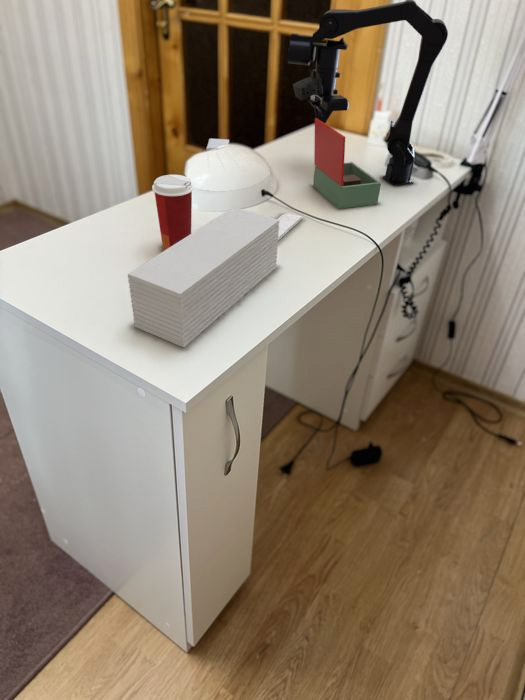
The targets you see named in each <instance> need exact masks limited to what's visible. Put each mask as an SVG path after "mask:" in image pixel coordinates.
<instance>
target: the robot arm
mask: <svg viewBox="0 0 525 700" xmlns="http://www.w3.org/2000/svg"><path fill="white" fill-rule="evenodd" d="M402 21H405V22H407V23H408V24H409V26H411V27H412V28H413V29H414V30H415V32H417V33H418V35H420V36H421V38H420V44H419V51H418V58H417V61H416V65H415V67H414V70H413V74H412V77H411V80H410V83H409V85H408V89H407V92H406V94H405V95H406V96H405V98H404V101H403V104H402V107H401V111H400V114H399V116H398V118H397V119H396V121H394V120H390V124H389V129H388V131H387V133H386V135H385V142H386V143H387V145H386V148H387V152H388V153H389V155H391V156H392V157H389V161H388V163H387V165H386V169H385V175H382V179H384V180H386V181H387V182H389V183H390V184H391V185H393V186H402V185H411V184H414V180H412V179H411V177H412V174H413V169H414V164H415V148H414V146H413V145H412V143H411V136H412V129H413V124H414V119H415V116H416V113H417V111H418V107H419V105H420V102H421V99H422V96H423V93H424V90H425V87H426V85H427V81H428V79H429V77H430V73H431V70H432V67H433V65H434V63H435V62H436V60H437V59H438V57H439V56H440V53H441V52H442V50H443V48H444V46H445V44H446V42H447V40H448V37H449V31H448V28H447V26H446V24H445V22H444V21H443V20H442V19H440V18H432V16H431V15H429V14H428V13H427V12H426V11H425V10H424V9H422V8H421V7H420V6H419V4H417V2H416V1H415V0H404V1H399V2H395V3H389V4H383V5H378V6H373V7H367V8H361V9H345V8H343V9H342V8H341V9H340V8H338V9H337V8H335V9H334V8H333V9H329V10H327V11H326V12H325V13H324V14H323V15H322V16H321V18H320V20H319V23H318V29H317V30H315V31H314V32H313V33H312V35H306V34H300V33H297V32H296V33H295V32H292V33H291V34H290V40H289V45H288V48H287V55H286V56H287V57H286V59H287V61H286V62H287V64H290V65H291V64H293V65H300V66H301V65H302V66H310V64H311V62H314V61H315V60H316V61H315V69H312V70H311V72H310V76H309V77H305V78H303V79H301V80H299V81H297V82H294V83H293V84H292V87H293V91H294V96H295V98H298V99H299V100H300V101H305V100H307V102H308V103H310V105H311V106H312V107H313V111H314V117H315V118H317V119H319V120H320V121H322V122H323V123H325V124H326V123H327V122H328V120H329V118H330V116H331V115H332V113H334V112H343V111H348V110H349V106H350V100H348V99H347V98H346V97H345V96H343V95H341V94H339V90H338V89H337V88H336V84H337V78H340V76H341V73H340V72H339V71H338V69H339V60H340V55H341V54H340V52H341V50H343V51H346V50H348V47H349V44H348V43H347V42H346V41H345V38H344V37H343V36H344V35H346V34H349V33H350V32H353V31H355V30H359V29H363V28H368V27H373V26H374V27H375V26H380V25H385V24H390V23H397V22H402ZM339 37H341V38H340V39H339V40H337V39H336V38H339ZM325 39H326V43H325V42H322V41H324V40H325ZM335 39H336V40H335ZM316 50H317V51H316ZM316 52H317V53H316ZM315 58H316V59H315ZM308 98H309V99H308Z"/></svg>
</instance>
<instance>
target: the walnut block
mask: <svg viewBox="0 0 525 700" xmlns="http://www.w3.org/2000/svg"><path fill="white" fill-rule="evenodd" d="M359 184H361V179H359V178H358V177H357V176H356V175H345V176H344V177H343V186H350V185H359Z"/></svg>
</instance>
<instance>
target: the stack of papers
mask: <svg viewBox="0 0 525 700" xmlns="http://www.w3.org/2000/svg"><path fill="white" fill-rule="evenodd" d="M277 219H278V218H277ZM277 219H276V218H274V217H270V216H266V215H263V214H260V213H256V212H252V211H250V210H246V209H242V208H240V207H235V206H232V207H231V208H230V209H228V210H226V211H225V212H223V213H221V214H220V215H218V216H216V217H215V218H213V219H212V220H211V221H209V222H207V223H206V224H204V225H203V226H201V227H199V228H198V229H196V230H194V231H192V232H191V234H190V235H188V236H187V237H185V238H184V239H182V240H181V241H179V242H177V243H176V244H174V245H173V246H171V247H169V248H168V249H166V250H165V251H164V250H163V251H162V252H160V253H158V254H157V255H155V256H154V257H152V258H150V259H149V260H147V261H146V262H144V263H143V264H141V265H139V266H138V267H136V268H135V269H133V270H132V271H130V272H128V273H127V279H128V288H129V294H130V302H131V308H132V316H133V323H134V327H135V328H137V329H139V330H142V331H143V332H146V333H149V334H151V335H154V336H155V337H159V338H160V339H163V340H165V341H167V342H170V343H172V344H174V345H177V346H179V347H181V348H185V347H187V346H188V345H189V344H190V343H191V342H192V341H194V340H195V339H196V338H197V337H198V336H199V335H200V334H201V333H203V332H204V331H205V330H206V329H207V328H208V327H210V326H211V325H212V324H213V323H214V322H215V321H216V320H218V319H219V318H220V317H221V316H222V315H223V314H224V313H225V312H227V311H228V310H230V308H232V306H234V305H235V304H236V303H237V302H239V300H241V299H242V298H243V297H244V296H245V295H246V294H248V293H249V292H250V291H251V290H252V289H253V288H254V287H256V286H257V285H258V284H259V283H260V282H261V281H263V280H264V279H265V278H267V276H268V275H270V274H271V273H272V272H273V271H275V269H277V261H278V260H277V259H278V246H279V245H278V244H279V243H278V242H279V240H278V239H277V238H278V233H279V230H278V229H279V220H277Z"/></svg>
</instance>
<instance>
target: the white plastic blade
mask: <svg viewBox="0 0 525 700" xmlns="http://www.w3.org/2000/svg"><path fill="white" fill-rule="evenodd" d="M277 220H279V229H278V230H279V233H278V238H277V239H278V241H279V240H281V239H282V238H283V237H285V235H286V234H288V233H289V232H290V231H291V230H292V229H293V228H294V227H296V226H297V225H298V223H300V222H301V221H302V216H301V215H299V214H295V213H290V212H289V213H283V214H281V215H280V216H279V217H278V218H277Z"/></svg>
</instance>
